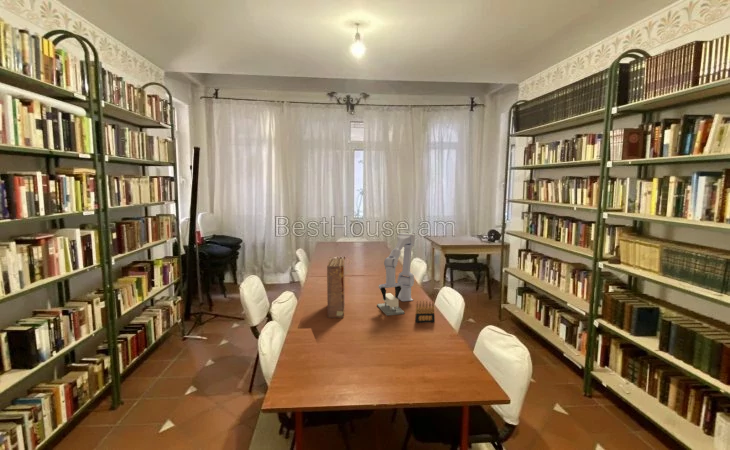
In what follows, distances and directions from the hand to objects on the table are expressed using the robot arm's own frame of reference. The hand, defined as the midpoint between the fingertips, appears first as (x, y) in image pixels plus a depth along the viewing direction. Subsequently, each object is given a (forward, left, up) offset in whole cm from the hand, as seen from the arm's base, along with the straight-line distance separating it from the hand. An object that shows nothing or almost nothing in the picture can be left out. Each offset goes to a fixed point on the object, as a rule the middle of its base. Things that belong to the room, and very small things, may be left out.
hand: (390, 299), depth 229 cm
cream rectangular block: (0, 0, -2) cm, 2 cm away
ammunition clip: (+24, +12, -7) cm, 27 cm away
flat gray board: (0, 0, -7) cm, 7 cm away
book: (-8, -32, -7) cm, 33 cm away
